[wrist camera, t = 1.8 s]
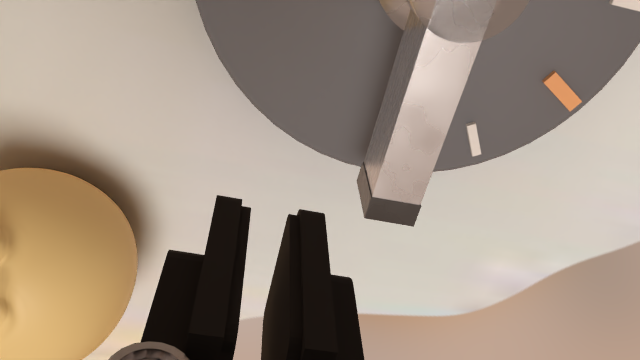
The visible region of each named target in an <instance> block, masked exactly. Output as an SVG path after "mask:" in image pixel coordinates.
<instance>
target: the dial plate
mask: <svg viewBox="0 0 640 360" xmlns="http://www.w3.org/2000/svg"><path fill="white" fill-rule="evenodd" d="M196 3H197V6H198V9H199V12H200V15H201V18H202V21H203V24H204V27H205V30H206V32H207V34H208V36H209V38H210V40H211V42H212V45H213V47H214V49H215V51H216V53H217V55H218V57H219V59H220V60H221V62H222V64H223V65H224V67H225V68H226V70H227V71H228V73H229V74H230V76H231V77H232V79H233V81H234V82H235V84H236V85H237V86H238V87H239V88H240V90H241V91H242V92H243V93H244V94H245V96H246V97H247V98H248V99H249V100H250V101H251V103H252V104H253V105H254V106H255V107H256V108H257V109H258V110H259V111H260V112H261V113H263V114H264V115H265V116H266V117H267V118H268V119H269V120H270V121H271V122H272V123H273V124H275V125H276V126H277V127H279V128H280V129H281V130H283V131H284V132H286V133H287V134H289V135H290V136H291V137H293V138H294V139H296V140H297V141H299V142H301V143H302V144H304V145H306V146H308V147H310V148H312V149H314V150H316V151H317V152H319V153H321V154H324V155H327V156H329V157H332V158H334V159H337V160H340V161H342V162H345V163H348V164H352V165H356V166H360V167H361V166H362V162H364V160H365V156H366V153H367V150H368V147H369V143H370V140H371V137H372V133H373V130H374V127H375V124H376V120H377V117H378V114H379V111H380V107H381V104H382V101H383V97H384V94H385V91H386V88H387V84H388V81H389V78H390V75H391V71H392V68H393V65H394V61H395V58H396V55H397V52H398V48H399V45H400V42H401V38H402V35H403V32H404V30H402V29H401V28H400V27H399V26H397V25H396V24H395V23H394V22H393V21H392V20H391V19H390V17H389V16H388V15H387V13H386V12H385V10H384V9H383V7H382V5H381V4H380V2H379V0H196ZM639 43H640V0H529V2H528V4H527V6H526V7H525V9H524V10H523V12H522V13H521V14H520V16H519V17H518V18H517V19H516V20H515V21H514V22H513V23H512V24H511V25H510V26H508V27H507V28H506V29H505V30H503V31H502V32H500V33H499V34H497V35H495V36H493V37H491V38H488V39H485V40H482V41H481V44H480V47H479V49H478V52H477V55H476V57H475V60H474V63H473V65H472V68H471V71H470V73H469V76H468V79H467V81H466V84H465V87H464V89H463V92H462V95H461V97H460V100H459V103H458V105H457V108H456V111H455V113H454V116H453V119H452V121H451V124H450V127H449V129H448V132H447V135H446V137H445V140H444V143H443V145H442V148H441V151H440V153H439V156H438V159H437V161H436V164H435V167H434V169H433V172H435V171H445V170H452V169H457V168H461V167H466V166H470V165H475V164H479V163H482V162H485V161H488V160H490V159H493V158H496V157H499V156H502V155H505V154H507V153H509V152H511V151H514V150H516V149H518V148H520V147H522V146H524V145H526V144H529V143H531V142H532V141H534V140H536V139H537V138H539V137H541V136H542V135H544V134H546V133H547V132H549V131H551V130H552V129H554V128H556V127H557V126H558V125H560V124H561V123H562V122H564V121H565V120H566V119H568V118H569V117H570V116H572V115H573V114H574V113H576V112H577V111H578V110H580V109H581V108H582V107H583V106H584V105H585V104H586V103H587V102H588V101H589V100H591V99H592V98H593V97H594V96H595V95H596V94H597V93H598V92H599V91H600V90H602V88H603V87H604V86H605V85H606V84H607V83H608V82H609V81H610V80H611V78H612V77H613V76H614V75H615V74H616V73H617V72H618V71H619V69H620V68H621V67H622V66H623V65H624V63H625V62H626V61H627V59H628V58H629V57H630V55H631V54H632V52H633V51H634V50H635V48H636V47H637V46H638V44H639Z"/></svg>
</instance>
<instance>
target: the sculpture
mask: <svg viewBox="0 0 640 360" xmlns="http://www.w3.org/2000/svg"><path fill="white" fill-rule="evenodd" d="M136 275H137V248H136V242H135V238H134V235H133V232H132V229H131V226H130V224H129V222H128V220H127V219H126V217H125V215H124V214H123V212H122V211H121V210H120V208H119V207H118V206H117V205H116V204H115V203H114V202H113V201H112V200H111V199H110V198H109V197H108V196H107V195H106V194H105V193H103V192H102V191H101V190H99V189H98V188H96V187H95V186H93V185H92V184H90V183H88V182H86V181H84V180H82V179H80V178H78V177H76V176H73V175H70V174H67V173H64V172H60V171H55V170H50V169H42V168H14V169H7V170H0V360H82V359H83V358H85V357H86V356H88V355H89V354H90V353H92V352H93V351H94V350H95V349H96V348H97V347H99V346H100V345H101V344H102V343H103V342H104V341H105V339H106V338H107V337H108V336H109V335H110V334H111V332H112V331H113V330H114V328H115V327H116V326H117V324H118V322H119V321H120V319H121V318H122V316H123V314H124V312H125V310H126V308H127V306H128V303H129V301H130V298H131V295H132V292H133V289H134V285H135V281H136Z"/></svg>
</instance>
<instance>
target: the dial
mask: <svg viewBox="0 0 640 360" xmlns="http://www.w3.org/2000/svg"><path fill="white" fill-rule="evenodd" d="M379 2H380V4H381V5H382V7H383V9H384V10H385V12H386V13H387V15H388V16H389V17H390V19H391V20H392V21H393V22H394V23H395V24H396V25H397V26H399V27H400V28H401V29H402V30H404V32H403V35H402V38H401V42H400V45H399V48H398V52H397V55H396V58H395V61H394V65H393V68H392V71H391V75H390V78H389V81H388V84H387V88H386V91H385V94H384V97H383V101H382V104H381V107H380V111H379V114H378V117H377V120H376V124H375V127H374V130H373V133H372V137H371V140H370V143H369V147H368V150H367V153H366V156H365V160H364V162H362V166H361V169H360V172H359V175H358V179H357V184H358V189H359V194H360V199H361V204H362V209H363V213H364V218H367V219H373V220H379V221H384V222H390V223H396V224H402V225H408V226H414V224H415V221H416V219H417V216H418V213H419V211H420V208H421V201H422V199H423V196H424V193H425V191H426V188H427V185H428V183H429V180H430V177H431V175H432V172H433V169H434V167H435V164H436V161H437V159H438V156H439V153H440V151H441V148H442V145H443V143H444V140H445V137H446V135H447V132H448V129H449V127H450V124H451V121H452V119H453V116H454V113H455V111H456V108H457V105H458V103H459V100H460V97H461V95H462V92H463V89H464V87H465V84H466V81H467V79H468V76H469V73H470V71H471V68H472V65H473V63H474V60H475V57H476V55H477V52H478V49H479V47H480V44H481V41H482V40H485V39H488V38H491V37H493V36H495V35H497V34H499V33H500V32H502V31H503V30H505V29H506V28H507V27H508V26H510V25H511V24H512V23H513V22H514V21H515V20H516V19H517V18H518V17H519V16H520V14H521V13H522V12H523V10H524V9H525V7H526V6H527V4H528V2H529V0H379Z"/></svg>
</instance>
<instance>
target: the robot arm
mask: <svg viewBox="0 0 640 360" xmlns="http://www.w3.org/2000/svg"><path fill="white" fill-rule="evenodd" d="M241 205H242V199H236V198H230V197H225V196H219V195H217V198H216V203H215V207H214V212H213V217H212V222H211V227H210V231H209V236H208V241H207V246H206V251H205V255H200V254H194V253H187V252H181V251H174V250H169V251H168V253H167V256H166V260H165V263H164V266H163V270H162V273H161V276H160V280H159V283H158V286H157V290H156V293H155V296H154V300H153V303H152V306H151V309H150V313H149V316H148V319H147V323H146V326H145V329H144V333H143V336H142V339H141V343H134V344H132V345H129V346H127V347H124V348H122V349H120V350H119V351H118V352H116V353H115V354H114V355H112V356H111V357H110V359H109V360H233V355H234V351H235V345H236V340H237V333H238V325H239V317H240V307H241V298H242V288H243V279H244V270H245V260H246V251H247V241H248V232H249V222H250V213H251V208H249V207H243V206H241ZM261 360H364V355H363V348H362V341H361V334H360V327H359V321H358V314H357V307H356V300H355V293H354V287H353V282H352V279H351V278H349V277H343V276H336V275H331V273H330V263H329V253H328V242H327V232H326V222H325V214H324V213H318V212H313V211H307V210H301V209H300V210H299V211H298V214H297V215H291V214H289V215H288V217H287V221H286V225H285V229H284V233H283V237H282V242H281V246H280V250H279V254H278V258H277V262H276V266H275V270H274V274H273V278H272V282H271V286H270V291H269V295H268V299H267V303H266V307H265V312H264V320H263V334H262V353H261Z"/></svg>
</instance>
